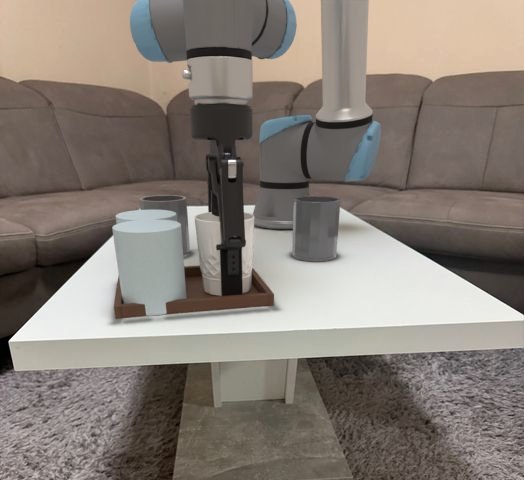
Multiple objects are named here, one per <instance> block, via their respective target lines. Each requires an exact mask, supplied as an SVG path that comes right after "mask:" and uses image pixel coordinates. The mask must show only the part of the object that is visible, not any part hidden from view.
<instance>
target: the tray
mask: <svg viewBox="0 0 524 480" xmlns="http://www.w3.org/2000/svg"><path fill="white" fill-rule="evenodd" d="M184 271H185V284H186V297H187V299H179V300H174V301H170V302H166V312H167V314H163V315H162V316H164V315H176V314H177V315H179V314H191V313H200V312H212V311H214V312H215V311H224V310H238V309H248V308H249V309H250V308H261V307H271V306H273V307H274V306H275V294H274V292H273V291H272V290H271V288H270V287H269V286H268V284H267V283H266V282H265V280H264V279H263V278H262V277H261V276H260V275H259V273H258V271H256V270H255V268H254V267H252V271H251V273H252V279H251V289H250V290H249V291H248V292H246V293H244V294H243V295H230V296H216V295H211V294H209V293H207V292H205V291H204V289H203V282H202V272H201V270H200V265H186V266H185V265H184ZM116 283H117V284H116V288H115V289H116V291H115V295H114V302H113V311H114V316H115V319H116V320H118V319H130V318H141V317H143V318H144V317H147V316H146V310H145V304H137V303H127V304H123V301H122V293H121V286H120V279H119V274H118V275H117V281H116ZM153 316H155V315H153ZM153 316H152V317H153Z"/></svg>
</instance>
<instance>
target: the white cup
mask: <svg viewBox="0 0 524 480" xmlns="http://www.w3.org/2000/svg"><path fill="white" fill-rule="evenodd" d="M254 221H255V216H254V215H253V213H249V212H245V211H244V224H245V240H246V245H245V247H242V287H243V294H244V293H246V292H248V291H249V290H250V289H251V279H252V273H251V271H252V267H253V266H254V261H253V260H254V248H255V225H254ZM194 225H195V235H196V246H197V253H198V260H199V261H198V262H199V266H200V270H201V272H202V282H203V289H204V291H205V292H207V293H209V294H211V295H216V296H222V292H221V267H220V250H216V245H217V244H221V232H220V222H219V217H218V216H215V215H213V214H212V212H202V213H199V214H196V215H195V216H194ZM231 237H236V236H231ZM231 237H230V238H231ZM253 268H254V267H253Z"/></svg>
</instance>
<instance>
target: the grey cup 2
mask: <svg viewBox="0 0 524 480" xmlns="http://www.w3.org/2000/svg"><path fill="white" fill-rule="evenodd" d="M340 212H341V198H339V197H335V196H327V195H310V196H302V197H296V198H294V209H293V229H292V241H291V243H292V246H291V247H292V249H291V253H292V254H291V255H292V257H293V258H294V259H296V260H298V261H299V260H300V261H304V262H315V263H316V262H327V261H332V260H335V259H336V258H337V254H338V253H337V252H338V241H339V240H338V238H339V225H340Z"/></svg>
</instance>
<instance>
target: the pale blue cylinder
mask: <svg viewBox="0 0 524 480" xmlns="http://www.w3.org/2000/svg"><path fill="white" fill-rule="evenodd" d="M111 230H112V236H113V245H114V250H115V258H116V264H117V272H118V275H119V279H120V286H121V293H122V301H123V304H127V303H137V304H145V310H146V316H145V317H151V316H152V317H153V315H154V316H164V315H163V314H166V315H168V314H167V312H166V302H170V301H174V300H179V299H187V297H186V284H185V271H184V266H185V261H184V260H185V259H184V255H183V245H182V232H181V224H180V223H179V222H176V221H171V220H156V219H151V220H135V221H127V222H122V223H119V224H117V223H116V224H114V225H112V227H111Z"/></svg>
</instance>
